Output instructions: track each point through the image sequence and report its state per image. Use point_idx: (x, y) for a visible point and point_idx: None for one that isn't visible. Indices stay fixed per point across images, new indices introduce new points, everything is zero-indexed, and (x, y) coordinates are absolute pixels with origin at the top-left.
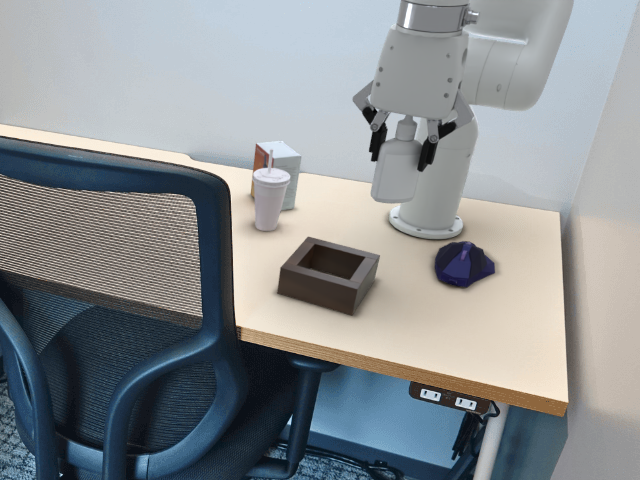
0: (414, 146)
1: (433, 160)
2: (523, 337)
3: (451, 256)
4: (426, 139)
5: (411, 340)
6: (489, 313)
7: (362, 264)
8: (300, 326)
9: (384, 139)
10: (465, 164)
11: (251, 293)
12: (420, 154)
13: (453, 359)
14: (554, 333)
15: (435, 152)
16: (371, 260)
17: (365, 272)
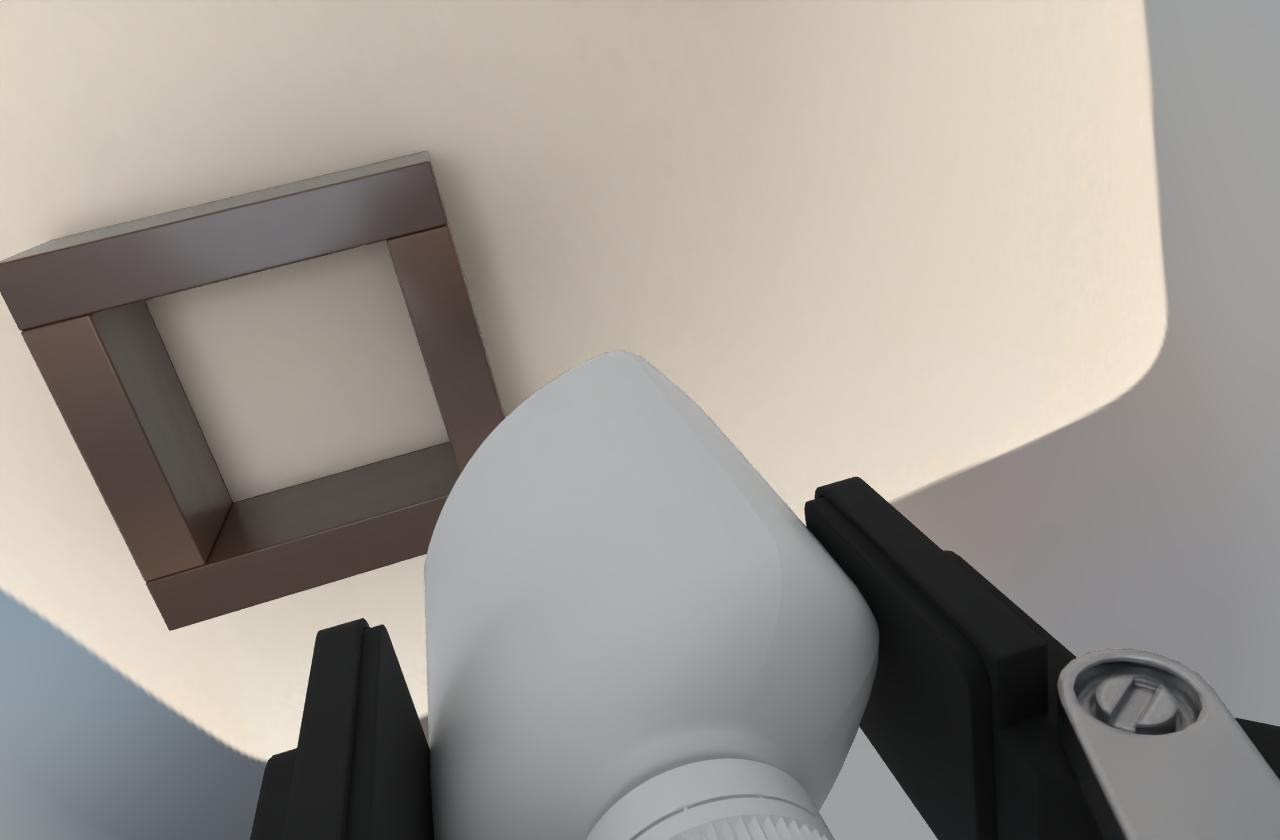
0: (827, 795)
1: (946, 553)
2: (1040, 129)
3: None
4: (982, 802)
5: (748, 439)
6: (908, 48)
7: (422, 321)
8: (425, 651)
9: (396, 808)
10: None
11: (128, 635)
12: (903, 789)
13: (887, 430)
14: (1125, 13)
15: (998, 597)
16: (431, 252)
17: (479, 379)
